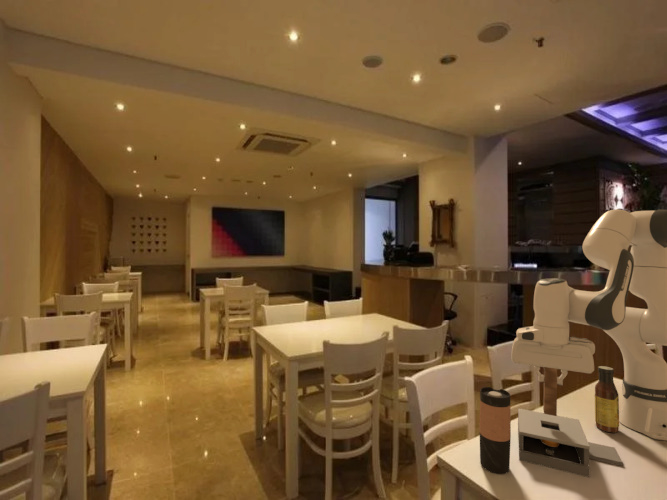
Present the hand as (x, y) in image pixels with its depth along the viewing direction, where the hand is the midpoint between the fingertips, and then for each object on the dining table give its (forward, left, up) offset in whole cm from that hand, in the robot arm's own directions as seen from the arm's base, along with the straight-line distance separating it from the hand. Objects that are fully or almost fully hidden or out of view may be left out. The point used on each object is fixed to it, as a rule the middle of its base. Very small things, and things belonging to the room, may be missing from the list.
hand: (550, 382), depth 101 cm
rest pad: (-13, -6, -20) cm, 25 cm away
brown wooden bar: (0, 0, -9) cm, 9 cm away
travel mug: (+14, +14, -21) cm, 28 cm away
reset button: (0, 0, -17) cm, 17 cm away
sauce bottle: (-18, -25, -21) cm, 37 cm away
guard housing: (0, 0, -20) cm, 20 cm away
